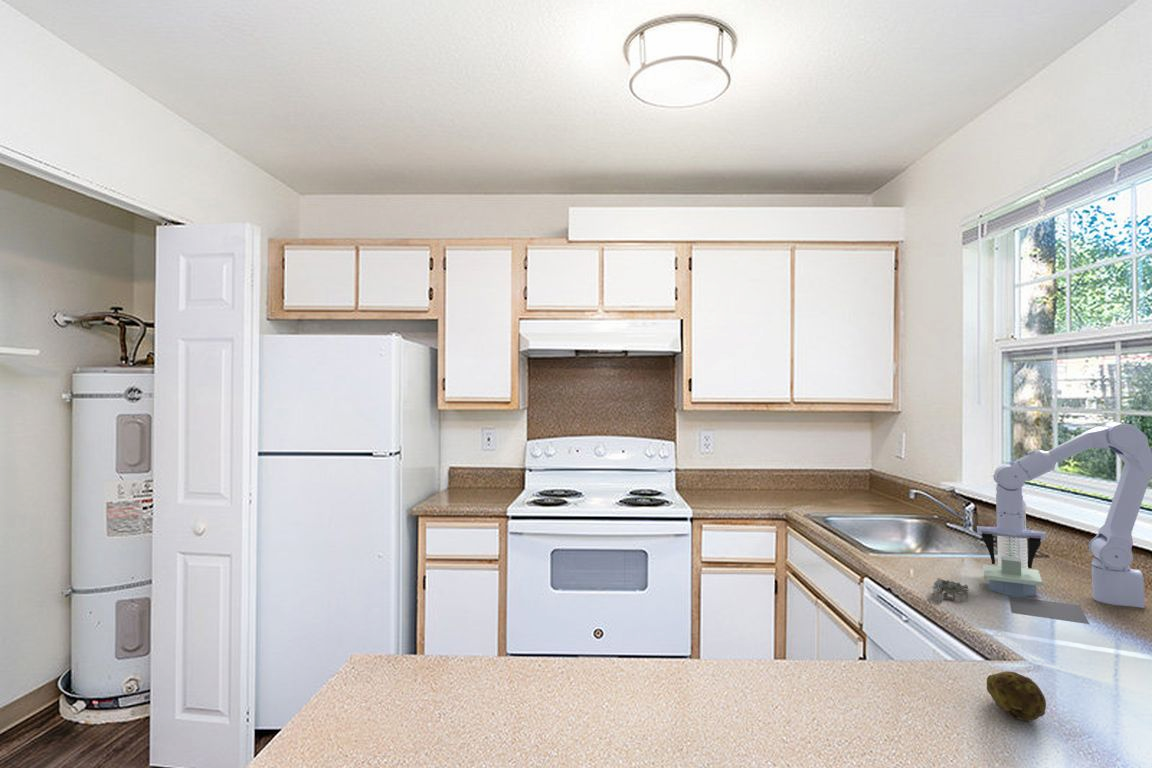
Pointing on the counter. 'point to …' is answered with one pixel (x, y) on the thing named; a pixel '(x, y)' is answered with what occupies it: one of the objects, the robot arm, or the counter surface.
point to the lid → (1012, 572)
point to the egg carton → (949, 590)
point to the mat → (1047, 609)
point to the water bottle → (1014, 546)
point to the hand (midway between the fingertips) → (1011, 565)
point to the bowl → (1012, 588)
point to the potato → (1017, 695)
